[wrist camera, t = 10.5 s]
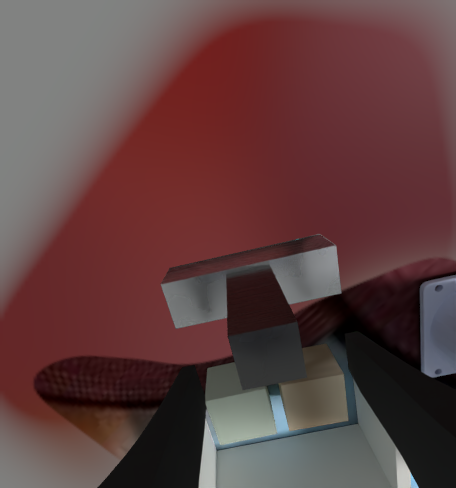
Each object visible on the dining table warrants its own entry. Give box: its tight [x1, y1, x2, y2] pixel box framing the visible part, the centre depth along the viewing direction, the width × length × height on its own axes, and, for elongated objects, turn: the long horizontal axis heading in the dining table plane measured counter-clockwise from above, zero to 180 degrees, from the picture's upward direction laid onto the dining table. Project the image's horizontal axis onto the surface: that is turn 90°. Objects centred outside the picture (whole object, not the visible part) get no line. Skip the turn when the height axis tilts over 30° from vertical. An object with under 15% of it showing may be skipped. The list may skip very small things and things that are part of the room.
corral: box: [199, 379, 411, 488], centre depth 18 cm, size 14×9×5 cm, turn 103°
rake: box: [161, 234, 341, 390], centre depth 13 cm, size 10×3×8 cm, turn 103°
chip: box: [278, 344, 348, 431], centre depth 18 cm, size 4×4×3 cm
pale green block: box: [205, 362, 277, 445], centre depth 18 cm, size 4×4×3 cm
